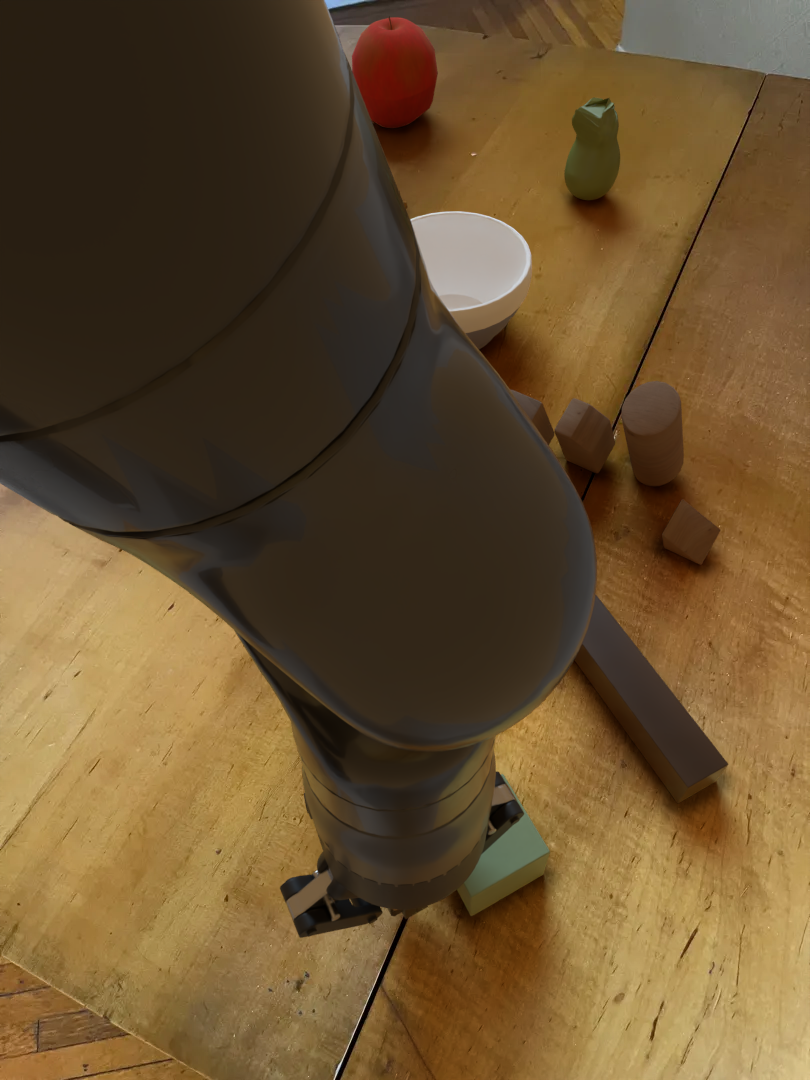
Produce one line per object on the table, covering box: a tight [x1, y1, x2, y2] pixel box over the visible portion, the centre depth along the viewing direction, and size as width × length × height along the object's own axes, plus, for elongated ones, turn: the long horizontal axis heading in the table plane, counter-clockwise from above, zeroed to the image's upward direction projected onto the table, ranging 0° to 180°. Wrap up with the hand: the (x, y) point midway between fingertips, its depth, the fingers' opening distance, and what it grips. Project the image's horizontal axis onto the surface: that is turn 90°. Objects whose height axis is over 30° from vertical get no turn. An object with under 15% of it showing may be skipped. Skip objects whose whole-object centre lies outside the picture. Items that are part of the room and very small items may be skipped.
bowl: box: [410, 210, 533, 350], centre depth 74 cm, size 14×14×8 cm
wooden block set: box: [510, 380, 721, 566], centre depth 61 cm, size 18×9×10 cm, turn 53°
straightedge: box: [574, 593, 729, 804], centre depth 60 cm, size 3×38×3 cm, turn 27°
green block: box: [456, 773, 551, 917], centre depth 47 cm, size 5×5×5 cm
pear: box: [563, 96, 621, 201], centre depth 84 cm, size 6×5×10 cm
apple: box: [351, 15, 439, 129], centre depth 95 cm, size 10×10×12 cm
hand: (408, 896), depth 47 cm, fingers closed
